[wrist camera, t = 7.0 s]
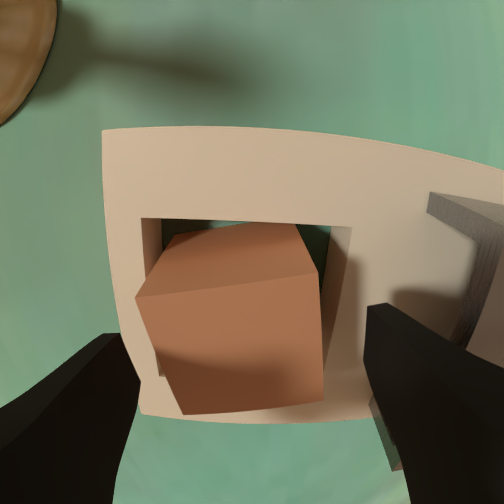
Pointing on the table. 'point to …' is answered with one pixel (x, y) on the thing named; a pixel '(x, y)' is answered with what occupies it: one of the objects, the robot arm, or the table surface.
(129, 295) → the board
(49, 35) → the hand bell
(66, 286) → the table surface
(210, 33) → the table surface
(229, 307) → the block
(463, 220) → the cover
